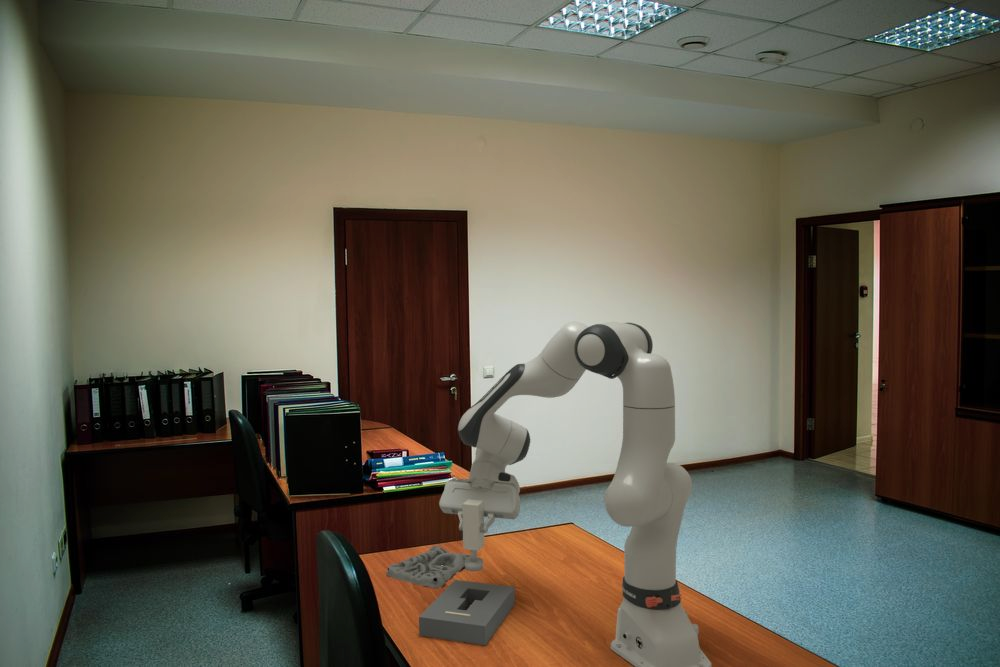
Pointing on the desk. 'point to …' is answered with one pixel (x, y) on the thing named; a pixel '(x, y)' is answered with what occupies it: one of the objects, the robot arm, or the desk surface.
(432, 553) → the wall plaque
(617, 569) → the desk surface
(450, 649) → the desk surface
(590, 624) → the desk surface
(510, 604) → the keyhole plate
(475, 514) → the post
